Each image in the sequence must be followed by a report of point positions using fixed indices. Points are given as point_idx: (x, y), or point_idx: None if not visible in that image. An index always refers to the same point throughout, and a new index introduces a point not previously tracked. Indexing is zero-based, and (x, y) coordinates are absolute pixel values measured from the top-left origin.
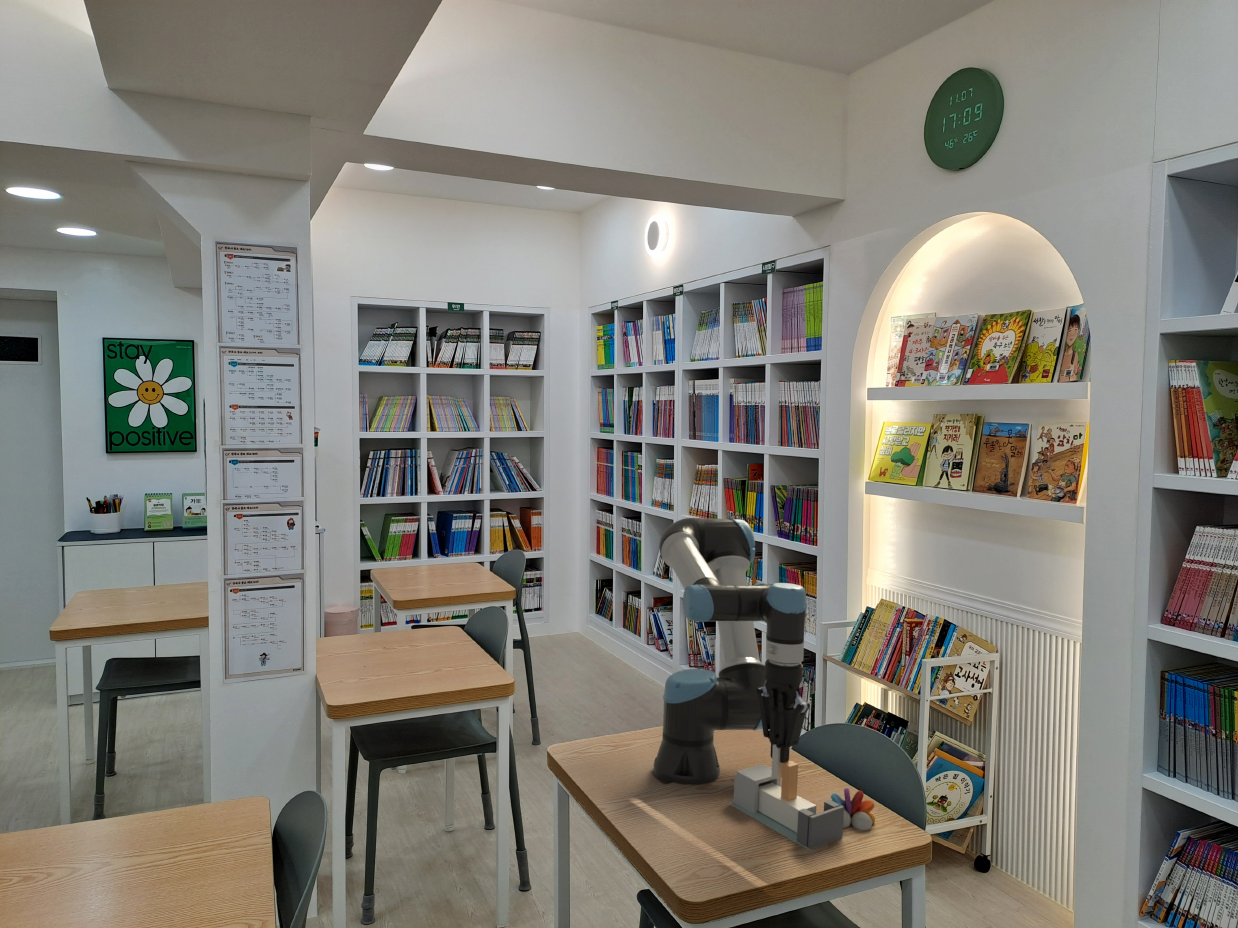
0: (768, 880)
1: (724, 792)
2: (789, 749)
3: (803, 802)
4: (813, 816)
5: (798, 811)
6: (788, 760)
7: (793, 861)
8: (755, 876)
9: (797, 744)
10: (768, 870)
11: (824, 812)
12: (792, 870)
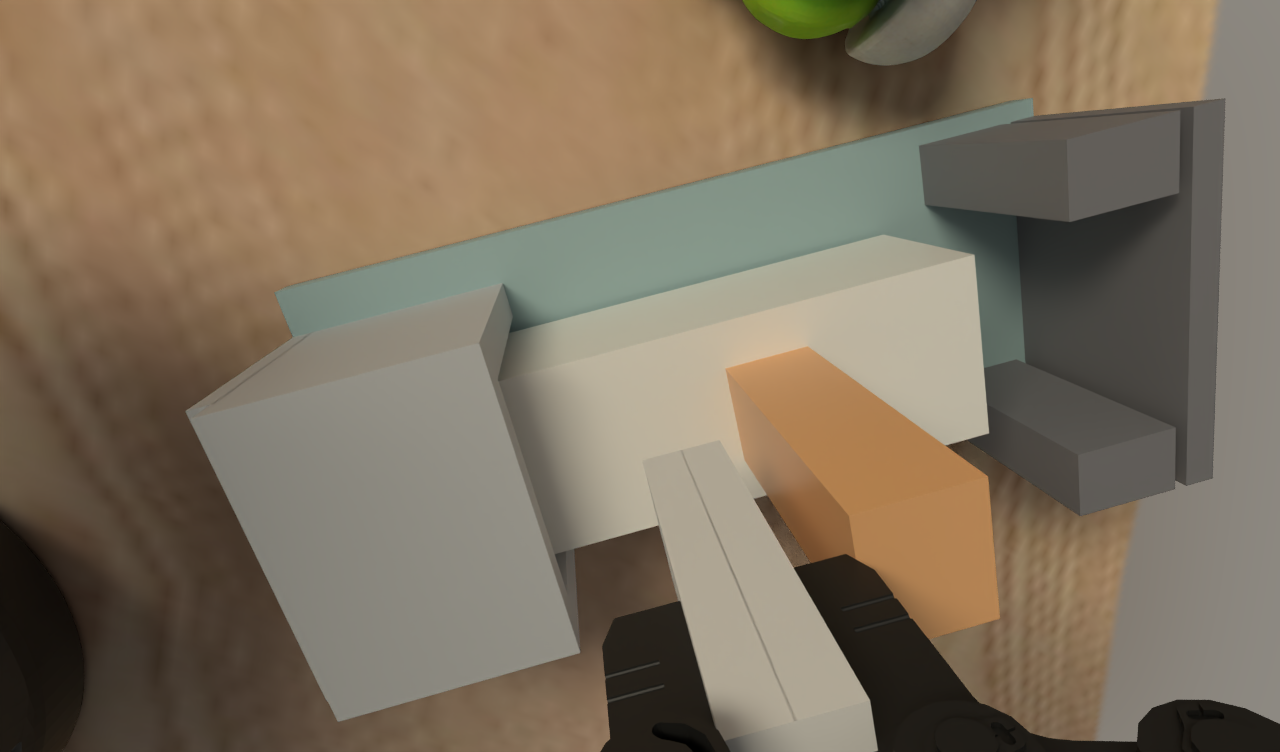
0: (1099, 674)
1: (166, 511)
2: (959, 680)
3: (890, 332)
4: (1199, 457)
5: (1075, 510)
6: (870, 572)
7: (1037, 505)
8: (1051, 709)
9: (1245, 716)
10: (1041, 643)
11: (1202, 339)
12: (1092, 547)
